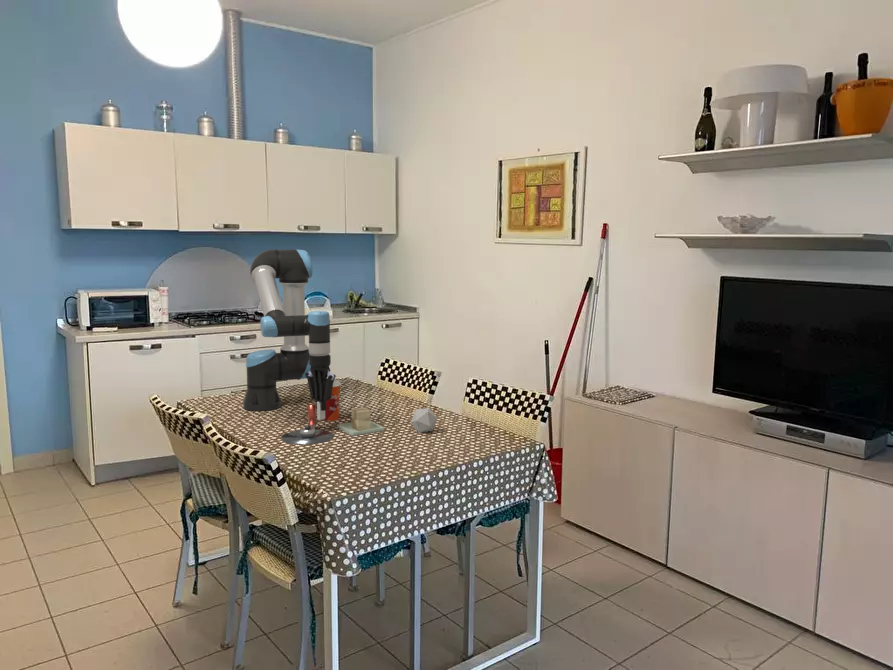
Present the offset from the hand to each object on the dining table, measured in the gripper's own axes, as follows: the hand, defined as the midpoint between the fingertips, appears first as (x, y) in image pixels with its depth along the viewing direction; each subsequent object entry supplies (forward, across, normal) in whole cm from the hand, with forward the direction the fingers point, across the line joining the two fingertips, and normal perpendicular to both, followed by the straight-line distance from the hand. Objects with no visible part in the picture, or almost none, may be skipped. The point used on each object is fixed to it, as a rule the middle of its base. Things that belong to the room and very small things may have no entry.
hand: (321, 419), depth 243 cm
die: (+5, -30, -21) cm, 37 cm away
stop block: (+4, -11, -9) cm, 15 cm away
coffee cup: (+4, +9, -14) cm, 17 cm away
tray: (+5, -11, -9) cm, 15 cm away
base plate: (+5, -2, +9) cm, 10 cm away
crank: (+4, +1, +5) cm, 6 cm away
